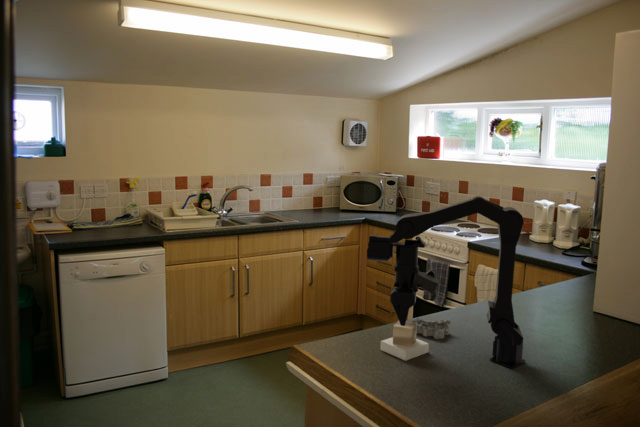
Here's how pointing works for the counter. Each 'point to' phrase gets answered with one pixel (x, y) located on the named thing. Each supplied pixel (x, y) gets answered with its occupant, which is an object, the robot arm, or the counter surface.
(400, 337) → the cube
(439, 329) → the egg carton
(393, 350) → the base
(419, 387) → the counter surface
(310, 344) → the counter surface
